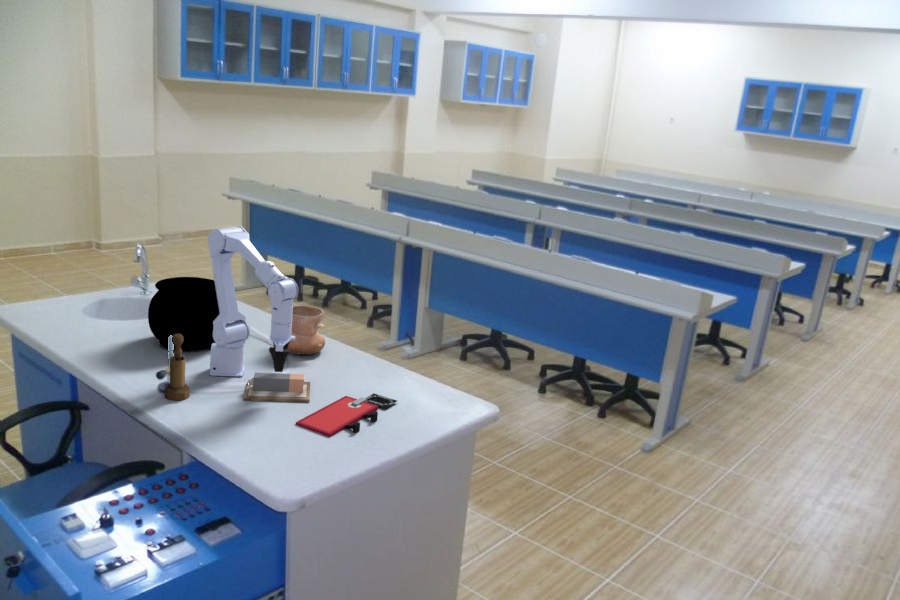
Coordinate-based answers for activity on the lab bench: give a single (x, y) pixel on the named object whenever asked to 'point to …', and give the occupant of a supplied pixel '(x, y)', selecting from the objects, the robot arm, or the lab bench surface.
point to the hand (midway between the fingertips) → (279, 366)
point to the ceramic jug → (306, 330)
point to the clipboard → (278, 395)
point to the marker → (277, 382)
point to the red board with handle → (344, 414)
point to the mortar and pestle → (177, 373)
